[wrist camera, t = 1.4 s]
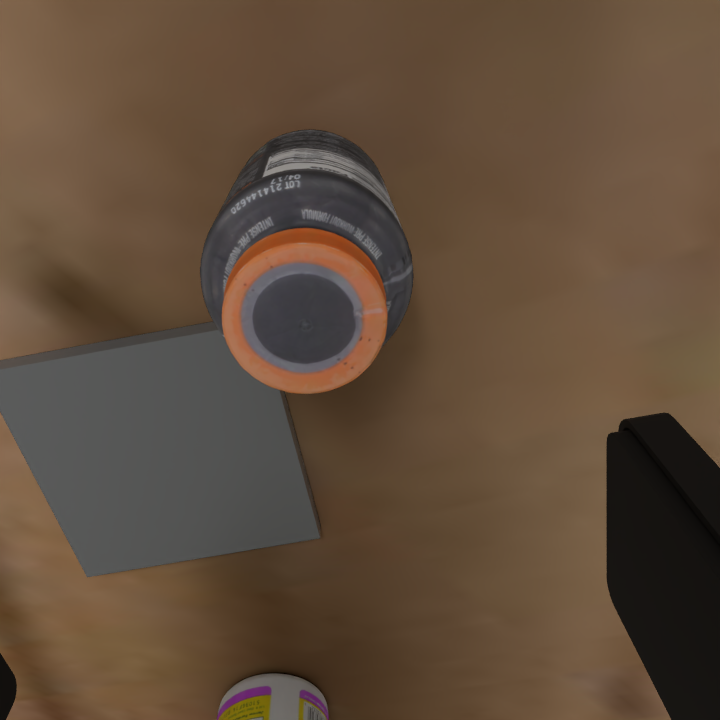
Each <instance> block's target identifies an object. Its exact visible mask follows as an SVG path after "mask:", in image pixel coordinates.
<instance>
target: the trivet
mask: <svg viewBox="0 0 720 720" xmlns="http://www.w3.org/2000/svg"><path fill="white" fill-rule="evenodd" d="M0 412H1V414H2V416H3V418H4V420H5V422H6V424H7V426H8V427H9V429H10V431H11V433H12V435H13V437H14V439H15V441H16V443H17V445H18V446H19V448H20V450H21V452H22V454H23V456H24V458H25V460H26V462H27V464H28V466H29V467H30V469H31V471H32V473H33V475H34V477H35V479H36V481H37V483H38V485H39V486H40V488H41V490H42V492H43V494H44V496H45V498H46V500H47V502H48V504H49V505H50V507H51V509H52V511H53V513H54V515H55V517H56V519H57V521H58V523H59V525H60V526H61V528H62V530H63V532H64V534H65V536H66V538H67V540H68V542H69V544H70V545H71V547H72V549H73V551H74V553H75V555H76V557H77V559H78V561H79V563H80V564H81V566H82V568H83V570H84V572H85V574H86V576H87V577H91V576H97V575H103V574H109V573H115V572H121V571H127V570H133V569H139V568H145V567H151V566H157V565H163V564H169V563H175V562H181V561H187V560H193V559H199V558H205V557H211V556H217V555H223V554H229V553H235V552H241V551H247V550H253V549H259V548H265V547H271V546H277V545H283V544H289V543H295V542H301V541H307V540H313V539H319V538H320V521H319V518H318V514H317V510H316V507H315V503H314V499H313V496H312V492H311V488H310V485H309V481H308V477H307V473H306V470H305V466H304V462H303V459H302V455H301V451H300V448H299V444H298V440H297V437H296V433H295V429H294V426H293V422H292V418H291V415H290V411H289V407H288V404H287V400H286V396H285V392H284V391H282V390H278V389H275V388H272V387H269V386H267V385H265V384H263V383H262V382H260V381H259V380H257V379H255V378H254V377H253V376H251V375H250V374H249V373H248V372H247V371H245V370H244V369H243V368H242V367H241V366H240V364H239V363H238V362H237V360H236V359H235V357H234V356H233V354H232V353H231V351H230V349H229V347H228V345H227V342H226V340H225V337H224V336H223V335H222V334H221V333H220V331H219V330H218V328H217V327H216V325H215V323H214V322H208V323H202V324H197V325H191V326H186V327H180V328H175V329H170V330H164V331H159V332H153V333H148V334H142V335H137V336H131V337H126V338H120V339H115V340H109V341H104V342H98V343H93V344H87V345H82V346H76V347H71V348H66V349H60V350H55V351H49V352H44V353H38V354H33V355H27V356H22V357H16V358H11V359H5V360H0Z"/></svg>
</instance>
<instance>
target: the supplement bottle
mask: <svg viewBox="0 0 720 720" xmlns="http://www.w3.org/2000/svg"><path fill="white" fill-rule="evenodd" d="M217 720H329V716H328V707H327V703H326V700H325V698H324V696H323V694H322V693H321V692H320V691H319V689H318V688H316V687H315V686H314V685H313V684H311V683H310V682H308V681H306V680H304V679H302V678H299V677H296V676H292V675H287V674H278V673H268V674H260V675H256V676H252V677H249V678H246V679H244V680H242V681H240V682H239V683H237V684H236V685H234V686H233V687H232V688H231V689H230V690H229V691H228V692H227V693H226V694H225V695H224V697H223V699H222V701H221V703H220V706H219V710H218V715H217Z"/></svg>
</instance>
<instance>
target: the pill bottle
mask: <svg viewBox="0 0 720 720" xmlns="http://www.w3.org/2000/svg"><path fill="white" fill-rule="evenodd" d="M200 277H201V287H202V292H203V297H204V300H205V304H206V306H207V309H208V311H209V313H210V316H211V318H212V320H213V322H214V323H215V325H216V327H217V328H218V330H219V331H220V333H221V334H222V335H223V336H224V337H225V340H226V342H227V345H228V347H229V349H230V351H231V353H232V354H233V356H234V357H235V359H236V360H237V362H238V363H239V364H240V366H241V367H242V368H243V369H244V370H245V371H247V372H248V373H249V374H250V375H251V376H253V377H254V378H255V379H257V380H259V381H260V382H262V383H263V384H265V385H267V386H269V387H272V388H275V389H278V390H282V391H285V392H289V393H296V394H313V393H322V392H326V391H330V390H333V389H336V388H339V387H341V386H343V385H345V384H347V383H349V382H351V381H353V380H354V379H356V378H357V377H358V376H359V375H361V374H362V373H363V372H364V371H365V370H366V369H367V368H368V367H369V366H370V365H371V363H372V362H373V361H374V360H375V358H376V356H377V355H378V353H379V351H380V349H381V347H382V346H383V345H384V344H385V343H386V342H387V341H388V340H389V339H390V337H391V336H392V335H393V334H394V332H395V331H396V329H397V328H398V326H399V325H400V323H401V321H402V319H403V317H404V315H405V313H406V310H407V307H408V305H409V302H410V298H411V293H412V287H413V265H412V255H411V252H410V249H409V245H408V242H407V239H406V237H405V235H404V232H403V229H402V227H401V224H400V222H399V219H398V217H397V214H396V212H395V209H394V207H393V204H392V202H391V199H390V197H389V194H388V192H387V189H386V187H385V184H384V181H383V179H382V177H381V175H380V173H379V171H378V169H377V167H376V165H375V164H374V162H373V161H372V160H371V159H370V158H369V156H368V155H367V154H366V153H365V152H364V151H363V150H362V149H361V148H359V147H358V146H357V145H356V144H354V143H352V142H351V141H349V140H347V139H345V138H343V137H341V136H339V135H336V134H334V133H330V132H327V131H321V130H299V131H294V132H290V133H286V134H283V135H281V136H278V137H276V138H274V139H272V140H270V141H269V142H267V143H266V144H265V145H264V146H263V147H261V148H260V149H259V150H258V151H257V152H256V153H255V154H254V155H253V156H252V157H251V158H250V159H249V160H248V162H247V163H246V165H245V167H244V168H243V169H242V171H241V172H240V174H239V176H238V178H237V180H236V182H235V183H234V185H233V186H232V189H231V191H230V193H229V195H228V197H227V199H226V200H225V202H224V204H223V206H222V208H221V210H220V212H219V214H218V216H217V218H216V219H215V221H214V223H213V225H212V227H211V229H210V231H209V233H208V236H207V238H206V241H205V244H204V248H203V253H202V258H201V267H200Z"/></svg>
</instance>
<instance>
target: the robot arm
mask: <svg viewBox="0 0 720 720" xmlns="http://www.w3.org/2000/svg"><path fill="white" fill-rule="evenodd" d="M607 584H608V589H609V593H610V596H611V599H612V602H613V604H614V607H615V609H616V611H617V613H618V615H619V617H620V619H621V621H622V623H623V625H624V626H625V628H626V630H627V632H628V634H629V636H630V638H631V640H632V642H633V644H634V646H635V648H636V650H637V652H638V654H639V656H640V658H641V660H642V662H643V664H644V666H645V668H646V670H647V672H648V674H649V676H650V678H651V680H652V682H653V684H654V686H655V688H656V690H657V692H658V694H659V696H660V698H661V700H662V702H663V704H664V706H665V708H666V710H667V712H668V714H669V716H670V718H671V720H720V468H719V467H718V466H717V464H716V463H715V462H714V461H713V460H712V459H711V458H710V457H709V456H708V455H707V454H706V452H705V451H704V450H703V449H702V448H701V447H700V446H699V445H698V444H697V443H696V441H695V440H694V439H693V438H692V437H691V436H690V435H689V434H688V433H687V432H686V430H685V429H684V428H683V427H682V426H681V425H680V424H679V423H678V422H677V421H676V420H675V418H674V417H672V416H671V415H670V414H669V413H659V414H653V415H647V416H642V417H636V418H630V419H624V420H623V421H621V423H620V425H619V432H614V433H610V434H608V437H607ZM16 687H17V684H16V679H15V676H14V674H13V672H12V671H11V669H10V668H9V666H8V664H7V663H6V661H5V660H4V658H3V657H2V655H1V654H0V720H6V718H7V716H8V714H9V712H10V710H11V708H12V706H13V703H14V700H15V697H16Z"/></svg>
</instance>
